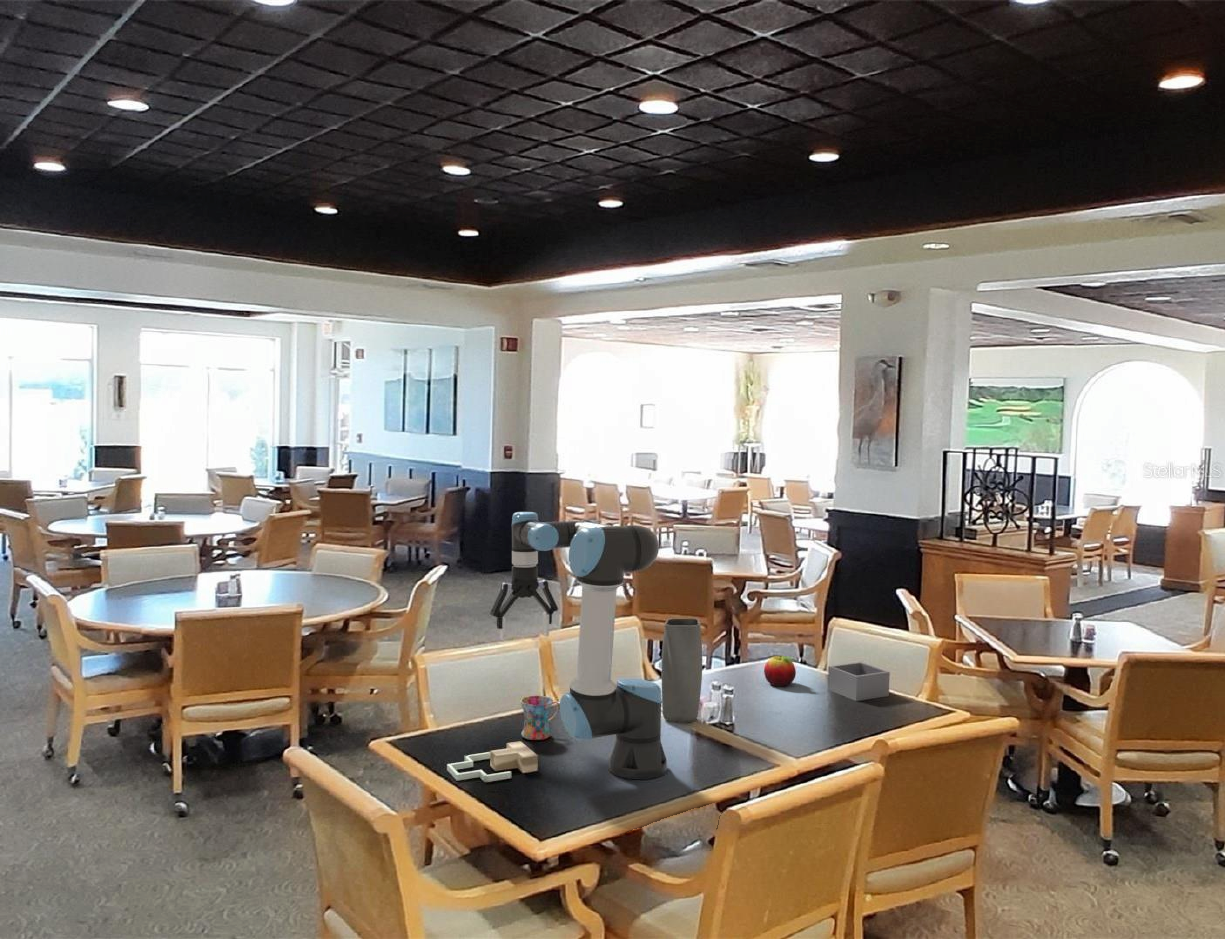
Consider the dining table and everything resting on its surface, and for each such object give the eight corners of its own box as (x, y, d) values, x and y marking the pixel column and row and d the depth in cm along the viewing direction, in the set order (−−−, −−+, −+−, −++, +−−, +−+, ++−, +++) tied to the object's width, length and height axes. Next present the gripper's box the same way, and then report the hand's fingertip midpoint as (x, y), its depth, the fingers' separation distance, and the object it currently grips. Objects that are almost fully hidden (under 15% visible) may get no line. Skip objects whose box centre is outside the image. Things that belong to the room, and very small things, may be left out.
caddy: (888, 695, 325) (889, 672, 325) (855, 701, 319) (856, 676, 318) (860, 685, 338) (860, 662, 337) (827, 689, 331) (828, 666, 331)
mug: (528, 744, 273) (529, 707, 272) (514, 735, 281) (514, 698, 280) (566, 737, 279) (567, 701, 279) (551, 728, 287) (552, 692, 287)
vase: (656, 724, 292) (658, 624, 290) (664, 712, 304) (666, 616, 302) (697, 728, 289) (699, 627, 287) (703, 715, 301) (705, 618, 299)
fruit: (777, 678, 344) (778, 650, 344) (802, 685, 336) (803, 656, 335) (757, 683, 338) (757, 654, 337) (781, 690, 329) (782, 661, 329)
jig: (511, 778, 249) (511, 772, 248) (461, 786, 243) (461, 780, 242) (489, 757, 263) (489, 752, 263) (442, 764, 257) (442, 759, 257)
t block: (537, 771, 254) (537, 755, 254) (501, 776, 249) (501, 761, 249) (520, 755, 265) (520, 741, 264) (484, 760, 260) (485, 746, 260)
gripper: (559, 561, 295) (558, 631, 296) (479, 566, 284) (479, 638, 285) (569, 564, 288) (568, 636, 289) (488, 569, 277) (488, 644, 278)
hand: (524, 637), depth 287 cm, fingers open, 13 cm apart
